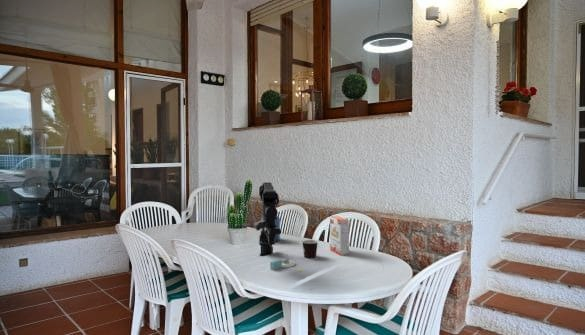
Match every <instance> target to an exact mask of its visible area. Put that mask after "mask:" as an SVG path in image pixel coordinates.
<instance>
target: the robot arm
mask: <svg viewBox="0 0 585 335" xmlns="http://www.w3.org/2000/svg"><path fill="white" fill-rule="evenodd" d="M258 196H259V197H260V198H259V199H260V200H261V202H262V217H263V220H261V219H260V220H259V221H256V222H254V223H253V226H254V229H255V231H260V230H261V229H262V230H261V231H260V234H259V236H258V244H259V246H260V253H259V256H262V257H263V256H264V257H265V256H269V255H273V254H274V245H275V244H276V243H275V242H276V241H275V236H276V234H280V235H281V234H282V230H281V228H280V229H279V228H278V227H277V225H276V219H277V217H276V216H278V214H279V213H278V209H277V208H276V205H277V206H278V205H279V203H280V197H279V194H278V192H277V191H276V190H275V188H274V185H272V182H262V185H260V186H259V188H258Z"/></svg>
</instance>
